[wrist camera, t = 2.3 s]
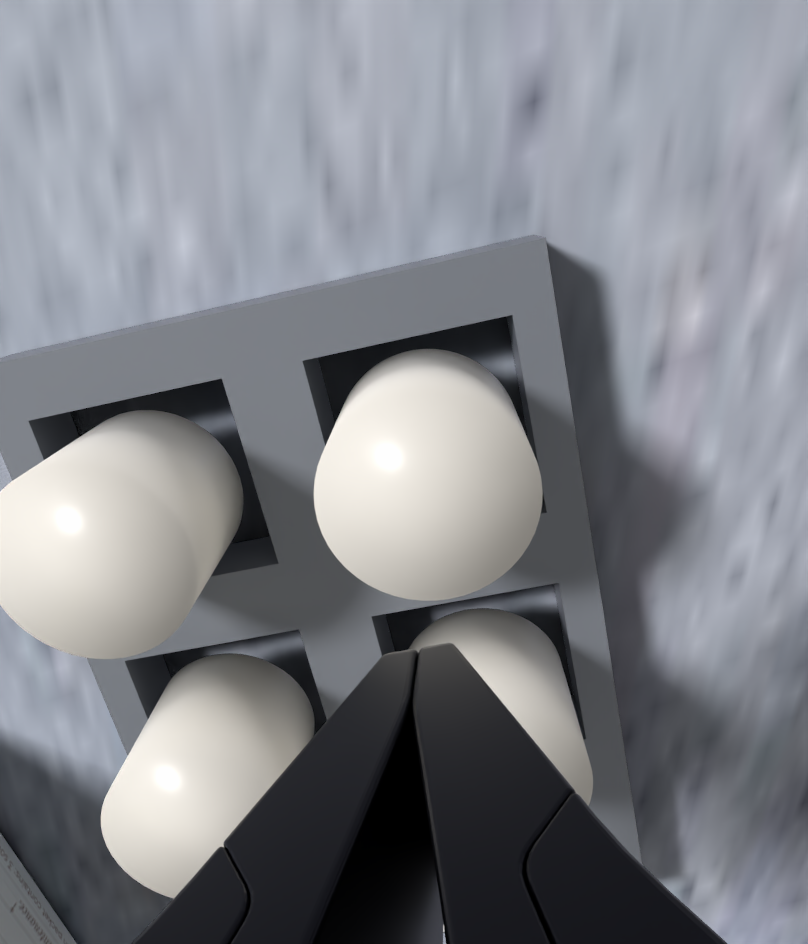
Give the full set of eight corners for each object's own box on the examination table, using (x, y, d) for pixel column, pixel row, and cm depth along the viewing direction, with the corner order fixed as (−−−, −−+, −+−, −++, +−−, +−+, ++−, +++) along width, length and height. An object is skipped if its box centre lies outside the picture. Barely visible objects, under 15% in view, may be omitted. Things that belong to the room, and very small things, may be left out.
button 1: (213, 393, 18) (155, 442, 14) (264, 555, 19) (224, 639, 16) (43, 429, 18) (-56, 486, 15) (105, 585, 20) (29, 674, 16)
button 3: (501, 330, 17) (521, 365, 13) (532, 504, 19) (559, 579, 15) (317, 370, 18) (287, 415, 14) (361, 537, 19) (344, 617, 15)
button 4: (549, 594, 19) (577, 687, 16) (573, 732, 21) (605, 847, 17) (384, 624, 20) (373, 721, 16) (419, 756, 21) (417, 874, 18)
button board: (533, 234, 18) (548, 238, 16) (632, 852, 25) (652, 917, 22) (10, 354, 20) (-44, 373, 18) (230, 909, 26) (211, 975, 24)
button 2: (291, 641, 20) (259, 740, 16) (331, 770, 22) (310, 889, 18) (138, 668, 21) (72, 771, 17) (187, 793, 22) (137, 914, 18)
